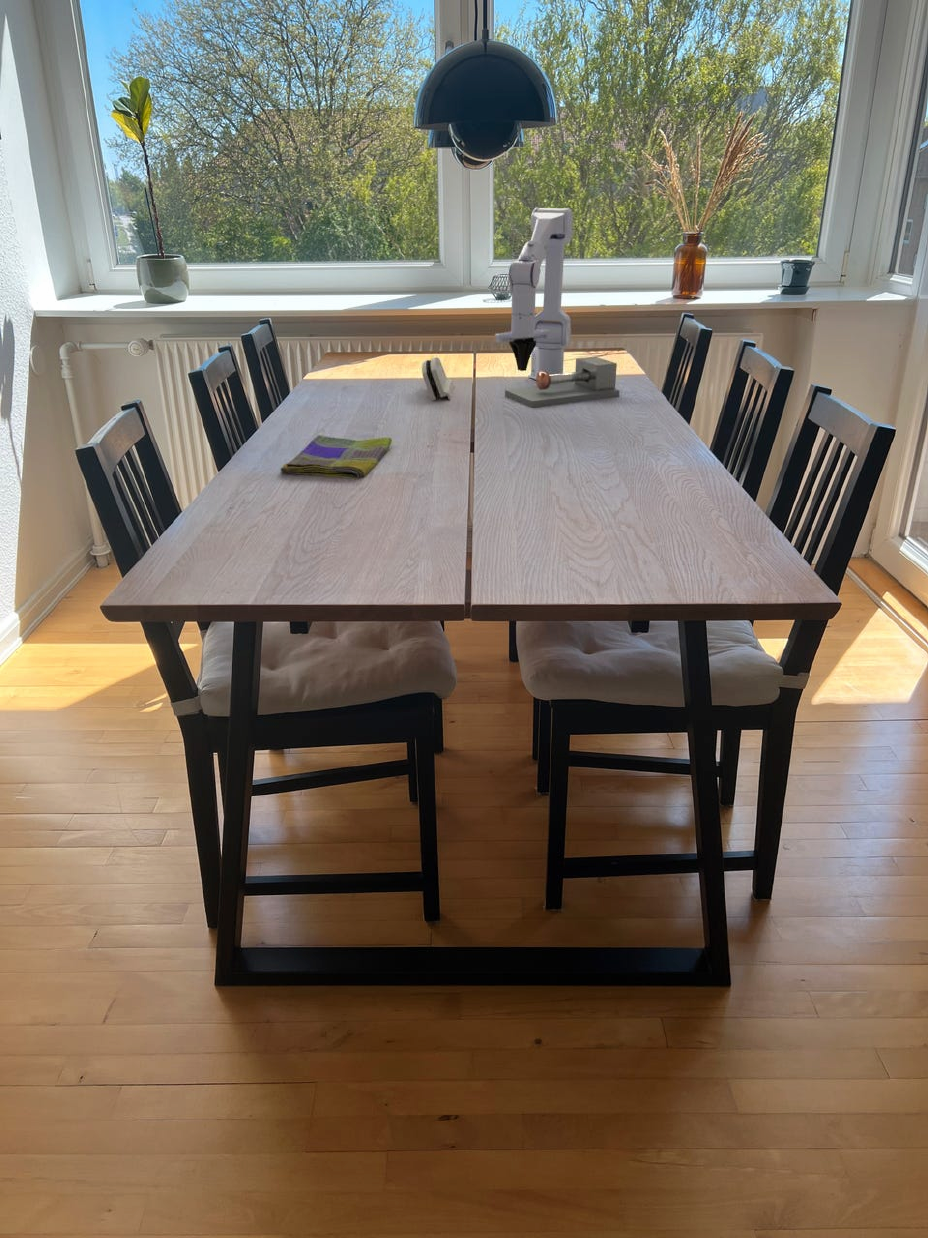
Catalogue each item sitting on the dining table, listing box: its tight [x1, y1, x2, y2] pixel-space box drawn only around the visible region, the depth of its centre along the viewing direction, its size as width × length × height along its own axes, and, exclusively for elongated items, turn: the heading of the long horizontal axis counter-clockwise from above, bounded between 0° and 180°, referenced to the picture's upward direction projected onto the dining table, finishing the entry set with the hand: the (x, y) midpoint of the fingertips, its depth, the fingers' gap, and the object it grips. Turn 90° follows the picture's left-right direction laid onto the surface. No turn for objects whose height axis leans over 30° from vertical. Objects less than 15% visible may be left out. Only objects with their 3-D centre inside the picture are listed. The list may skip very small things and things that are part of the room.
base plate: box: [504, 382, 620, 408], centre depth 241 cm, size 14×26×2 cm, turn 116°
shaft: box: [535, 371, 589, 390], centre depth 240 cm, size 4×15×4 cm, turn 116°
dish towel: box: [280, 434, 393, 479], centre depth 192 cm, size 18×24×3 cm
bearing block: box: [574, 356, 618, 391], centre depth 243 cm, size 10×6×6 cm, turn 26°
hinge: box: [421, 357, 455, 401], centre depth 244 cm, size 17×5×10 cm, turn 178°
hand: (522, 369), depth 233 cm, fingers closed
